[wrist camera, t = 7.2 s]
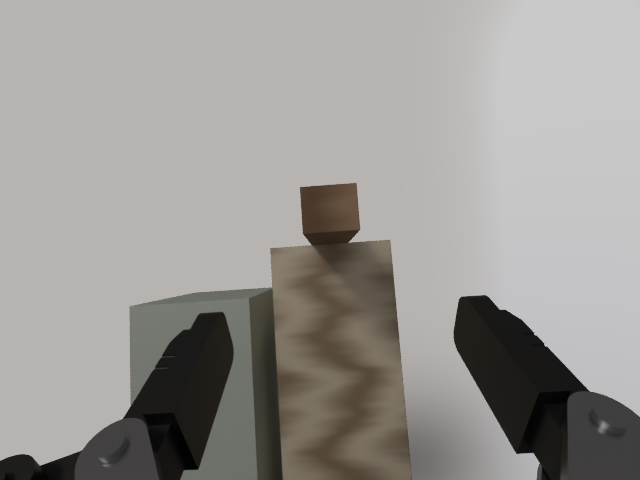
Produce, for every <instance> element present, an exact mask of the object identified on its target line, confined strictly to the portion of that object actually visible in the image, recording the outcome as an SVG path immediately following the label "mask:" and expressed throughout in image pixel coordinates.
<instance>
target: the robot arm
mask: <svg viewBox="0 0 640 480" xmlns="http://www.w3.org/2000/svg"><path fill="white" fill-rule="evenodd" d="M454 342H455V345H456V348H457V351H458V352H459V354H460V356H461V358H462V359H463V361H464V363H465V365H466V366H467V368H468V370H469V371H470V373H471V375H472V377H473V379H474V380H475V382H476V384H477V386H478V387H479V389H480V391H481V392H482V394H483V396H484V398H485V400H486V401H487V403H488V405H489V406H490V408H491V410H492V412H493V413H494V415H495V417H496V419H497V421H498V422H499V424H500V426H501V427H502V429H503V431H504V433H505V435H506V436H507V438H508V440H509V442H510V443H511V445H512V447H513V449H514V450H515V452H516V454H520V453H534V454H535V456H536V457H537V459H538V461H539V462H540V464H539V467H538V472H537V480H640V417H639V416H638V415H637V414H635V413H634V412H633V411H632V410H630V409H629V408H627V407H626V406H624V405H623V404H621V403H620V402H618V401H615V400H614V399H612V398H609V397H607V396H604V395H601V394H598V393H594V392H590V391H589V390H588V389H587V388H586V387H585V386H584V385H583V384H582V383H581V382H580V381H579V380H578V379H577V378H576V377H575V376H574V375H573V374H572V372H571V371H570V370H569V369H568V368H567V367H566V366H565V365H564V364H563V363H562V362H561V361H560V360H559V359H558V358H557V357H556V356H555V355H554V353H552V352H551V350H550V349H549V348H548V347H545V346H544V343H543V342H542V341H541V340H540V339H539V338H538V337H537V336H535V335H534V332H533V331H532V330H531V329H530V328H529V327H528V326H527V325H526V324H525V323H524V322H523V321H522V320H521V319H519V318H518V317H516V316H514V315H513V314H511V313H510V312H508V311H506V310H499V309H498V307H497V306H496V305H495V304H494V303H493V302H492V301H491V299H490V298H489V297H487V296H485V295H482V296H467V297H461V298H460V299H459V302H458V309H457V314H456V321H455V327H454ZM233 357H234V348H233V343H232V339H231V335H230V331H229V327H228V324H227V320H226V316H225V314H224V313H223V312H211V313H200V314H199V315H198V316H197V318H196V319H195V321H194V323H193V325H192V327H191V328H190V329H187V330H183V331H181V332H180V333H179V334H178V335H177V336H176V337H175V338H174V339H173V340H172V341H170V343H169V345H168V346H167V348H166V349H165V351H164V353H163V354H162V358H160V359H159V361H158V363H157V364H156V366H155V370H153V371H152V372H151V374H150V376H149V377H148V379H147V381H146V382H145V384H144V385H143V387H142V389H141V390H140V392H139V394H138V395H137V397H136V399H135V400H134V402H133V404H132V405H131V407H130V409H129V410H128V412H127V413H126V415H125V417H124V418H123V419H122V420H120V421H117V422H115V423H113V424H111V425H109V426H107V427H106V428H104V429H103V430H101V431H100V432H99V433H98V434H96V435H95V436H94V437H93V438H92V439H91V440H90V441H89V442H88V443H87V445H86V446H85V447H84V449H83V450H82V451H80V452H77V453H74V454H72V455H69V456H66V457H63V458H61V459H58V460H55V461H52V462H50V463H47V464H44V465H41V466H39V465H38V463H37V462H36V461H35V460H34V459H33V458H32V457H31V456H29V455H25V454H22V455H15V456H12V457H8V458H6V459H4V460H1V461H0V480H180V479H181V477H182V474H183V471H184V470H199V467H200V463H201V460H202V457H203V454H204V451H205V448H206V445H207V442H208V438H209V435H210V432H211V429H212V426H213V423H214V420H215V417H216V413H217V410H218V407H219V404H220V401H221V398H222V395H223V392H224V388H225V385H226V382H227V379H228V376H229V373H230V370H231V367H232V363H233Z"/></svg>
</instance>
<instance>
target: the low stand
mask: <svg viewBox="0 0 640 480" xmlns="http://www.w3.org/2000/svg"><path fill="white" fill-rule="evenodd" d="M211 312H223V313H224V314H225V316H226V320H227V324H228V327H229V331H230V335H231V339H232V343H233V348H234V357H233V363H232V367H231V370H230V373H229V376H228V379H227V382H226V385H225V388H224V392H223V395H222V398H221V401H220V404H219V407H218V410H217V413H216V417H215V420H214V423H213V426H212V429H211V432H210V435H209V438H208V442H207V445H206V448H205V451H204V454H203V457H202V460H201V463H200V467H199V470H184V471H183V474H182V477H181V479H180V480H283V472H282V453H281V435H280V417H279V398H278V380H277V361H276V343H275V324H274V306H273V288H258V289H243V290H229V291H215V292H199V293H192V294H187V295H182V296H177V297H173V298H168V299H163V300H158V301H153V302H148V303H144V304H139V305H134V306H130V368H131V369H130V376H131V377H130V379H131V405H132V404H133V402H134V400H135V399H136V397H137V395H138V394H139V392H140V390H141V389H142V387H143V385H144V384H145V382H146V381H147V379H148V377H149V376H150V374H151V372H152V371H153V370H155V366H156V364H157V363H158V361H159V359H160V358H162V354H163V353H164V351H165V349H166V348H167V346H168V345H169V343H170V341H172V340H173V339H174V338H175V337H176V336H177V335H178V334H179V333H180V332H181V331H183V330H187V329H190V328H191V327H192V325H193V323H194V321H195V319H196V318H197V316H198V315H199V314H200V313H211Z"/></svg>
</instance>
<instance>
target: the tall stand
mask: <svg viewBox="0 0 640 480" xmlns="http://www.w3.org/2000/svg"><path fill="white" fill-rule="evenodd" d="M270 250H271V269H272V287H273V306H274V324H275V343H276V361H277V380H278V398H279V417H280V435H281V453H282V472H283V480H412V476H411V464H410V454H409V442H408V431H407V420H406V408H405V398H404V386H403V377H402V376H403V375H402V365H401V353H400V343H399V332H398V321H397V310H396V298H395V289H394V277H393V265H392V255H391V243H390V240H383V241H367V242H353V243H339V244H325V245H312V246H297V247H283V248H271V249H270Z"/></svg>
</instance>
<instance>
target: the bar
mask: <svg viewBox="0 0 640 480" xmlns="http://www.w3.org/2000/svg"><path fill="white" fill-rule="evenodd" d="M300 193H301V209H302V225H303V234H304V236H305V237H306V238H307V239H308V241H309V242H310V243H311V245H325V244H339V243H348V242H349V241H350V240H351V239H352V238H353V237H354V236H355V235H356V233H358V231H359V230H360V223H359V211H358V197H357V185H356V183H351V184H337V185H325V186H310V187H300Z"/></svg>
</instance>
